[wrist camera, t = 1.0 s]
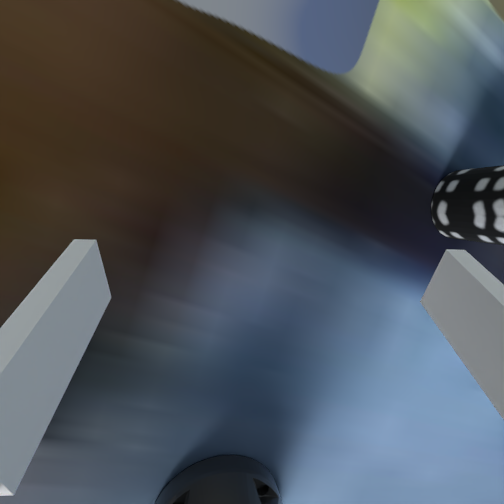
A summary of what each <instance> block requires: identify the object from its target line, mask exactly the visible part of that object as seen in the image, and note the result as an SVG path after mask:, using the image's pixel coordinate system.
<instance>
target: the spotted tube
mask: <svg viewBox="0 0 504 504" xmlns="http://www.w3.org/2000/svg"><path fill="white" fill-rule="evenodd" d="M431 214H432V220H433V222H434V225H435V226H436V228H437V230H438V231H439V232H440V233H441V234H443V235H444V236H446V237H449V238H455V239H462V240H469V241H477V242H484V243H491V244H499V245H504V166H494V167H484V168H475V169H465V170H458V171H454V172H452V173H450V174H448V175H447V176H446V177H445V178H444V179H443V180H442V181H441V182H440V183H439V185H438V186H437V188H436V190H435V192H434V195H433V198H432V204H431Z"/></svg>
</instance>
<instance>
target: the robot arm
mask: <svg viewBox="0 0 504 504" xmlns="http://www.w3.org/2000/svg"><path fill="white" fill-rule="evenodd" d="M110 299H111V294H110V290H109V286H108V282H107V279H106V275H105V271H104V267H103V264H102V260H101V256H100V252H99V249H98V245H97V241H96V240H80V239H74V240H73V241H72V242H71V244H70V245H69V246H68V247H67V248H66V250H65V251H64V252H63V253H62V254H61V256H60V257H59V258H58V259H57V260H56V262H55V263H54V264H53V265H52V267H51V268H50V269H49V270H48V271H47V273H46V274H45V275H44V276H43V277H42V279H41V280H40V281H39V282H38V283H37V285H36V286H35V287H34V288H33V289H32V291H31V292H30V293H29V294H28V296H27V297H26V298H25V299H24V300H23V302H22V303H21V304H20V305H19V306H18V308H17V309H16V310H15V311H14V312H13V314H12V315H11V316H10V317H9V318H8V320H7V321H6V322H5V323H4V325H3V326H0V496H8V495H14V494H15V492H16V490H17V488H18V486H19V484H20V482H21V480H22V478H23V476H24V474H25V472H26V470H27V468H28V466H29V464H30V462H31V460H32V458H33V456H34V454H35V452H36V450H37V448H38V446H39V444H40V441H41V439H42V437H43V435H44V433H45V431H46V429H47V427H48V425H49V423H50V421H51V419H52V417H53V415H54V413H55V411H56V409H57V407H58V405H59V403H60V401H61V399H62V397H63V395H64V393H65V391H66V389H67V387H68V385H69V383H70V380H71V378H72V376H73V374H74V372H75V370H76V368H77V366H78V364H79V362H80V360H81V358H82V356H83V354H84V352H85V350H86V348H87V346H88V344H89V342H90V340H91V338H92V336H93V334H94V332H95V330H96V328H97V326H98V324H99V322H100V319H101V317H102V315H103V313H104V311H105V309H106V307H107V305H108V303H109V301H110ZM420 302H421V304H422V305H423V307H424V308H425V309H426V311H427V312H428V314H429V315H430V317H431V318H432V319H433V321H434V322H435V324H436V325H437V326H438V328H439V329H440V331H441V332H442V333H443V335H444V336H445V338H446V339H447V340H448V342H449V343H450V345H451V346H452V348H453V349H454V350H455V352H456V353H457V355H458V356H459V357H460V359H461V360H462V362H463V363H464V364H465V366H466V367H467V369H468V370H469V371H470V373H471V374H472V376H473V377H474V379H475V380H476V381H477V383H478V384H479V386H480V387H481V388H482V390H483V391H484V393H485V394H486V395H487V397H488V398H489V400H490V401H491V402H492V404H493V405H494V407H495V408H496V409H497V411H498V412H499V414H500V415H501V417H502V418H503V419H504V285H503V284H502V283H501V282H500V281H499V280H498V279H497V278H495V277H494V276H493V275H492V274H491V273H490V272H489V271H488V270H487V269H485V268H484V267H483V266H482V265H481V264H480V263H479V262H478V261H477V260H476V259H474V258H473V257H472V256H471V255H470V254H469V253H468V252H467V251H466V250H448V249H446V251H445V253H444V255H443V257H442V259H441V261H440V263H439V265H438V267H437V269H436V271H435V273H434V275H433V277H432V279H431V281H430V283H429V285H428V287H427V289H426V291H425V293H424V295H423V297H422V299H421V301H420ZM155 504H282V500H281V496H280V494H279V491H278V488H277V485H276V482H275V480H274V478H273V476H272V474H271V473H270V472H269V471H268V469H267V468H266V467H264V466H263V465H262V464H260V463H259V462H257V461H255V460H253V459H251V458H247V457H243V456H237V455H224V456H217V457H213V458H209V459H206V460H203V461H200V462H198V463H196V464H194V465H192V466H190V467H188V468H187V469H185V470H184V471H182V472H181V473H180V474H178V475H177V476H176V477H175V478H174V479H173V480H172V481H171V482H170V483H169V484H168V485H167V486H166V487H165V488H164V490H163V491H162V492H161V494H160V495H159V497H158V499H157V500H156V502H155Z"/></svg>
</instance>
